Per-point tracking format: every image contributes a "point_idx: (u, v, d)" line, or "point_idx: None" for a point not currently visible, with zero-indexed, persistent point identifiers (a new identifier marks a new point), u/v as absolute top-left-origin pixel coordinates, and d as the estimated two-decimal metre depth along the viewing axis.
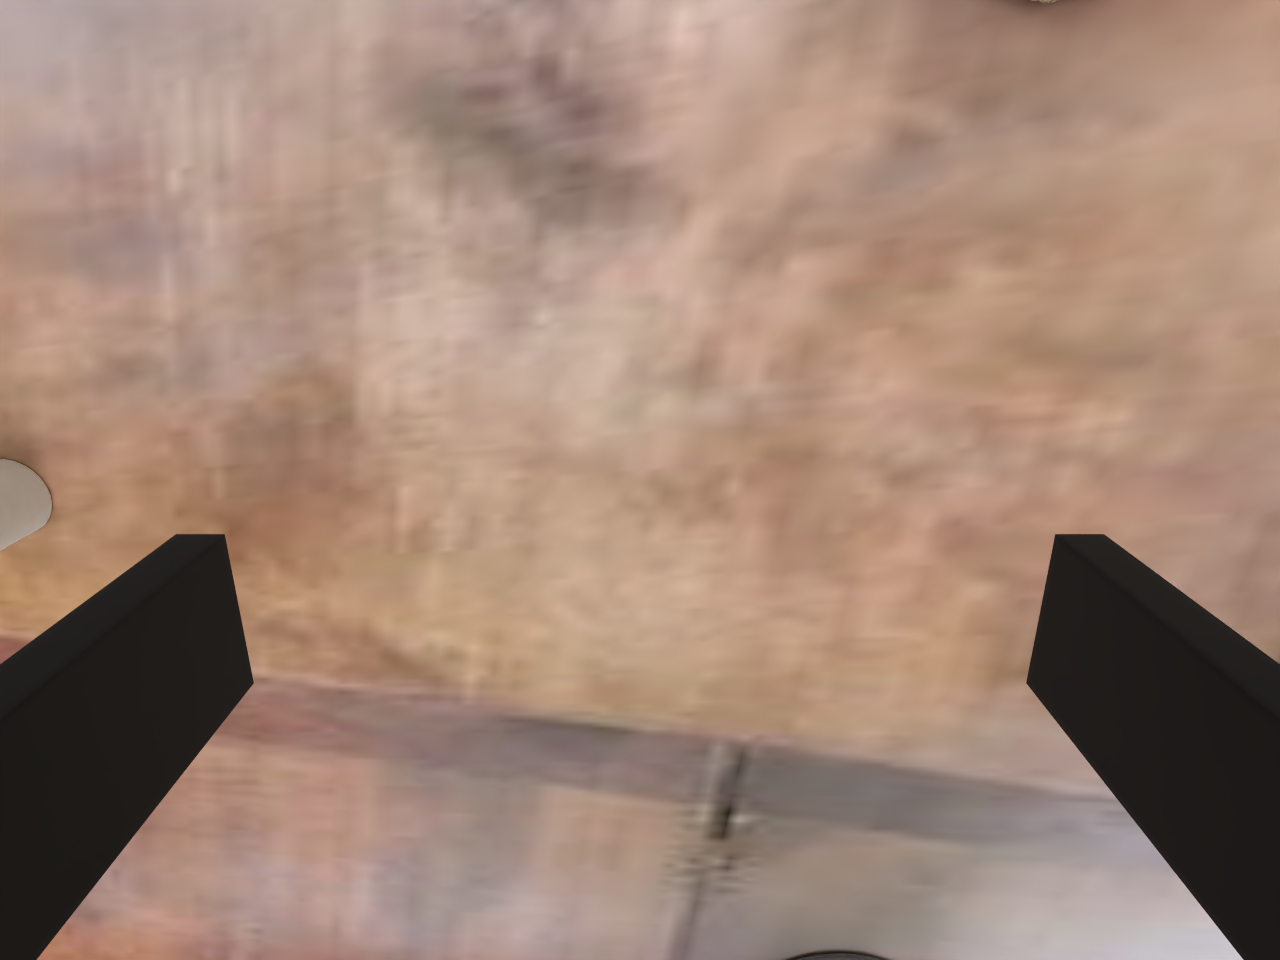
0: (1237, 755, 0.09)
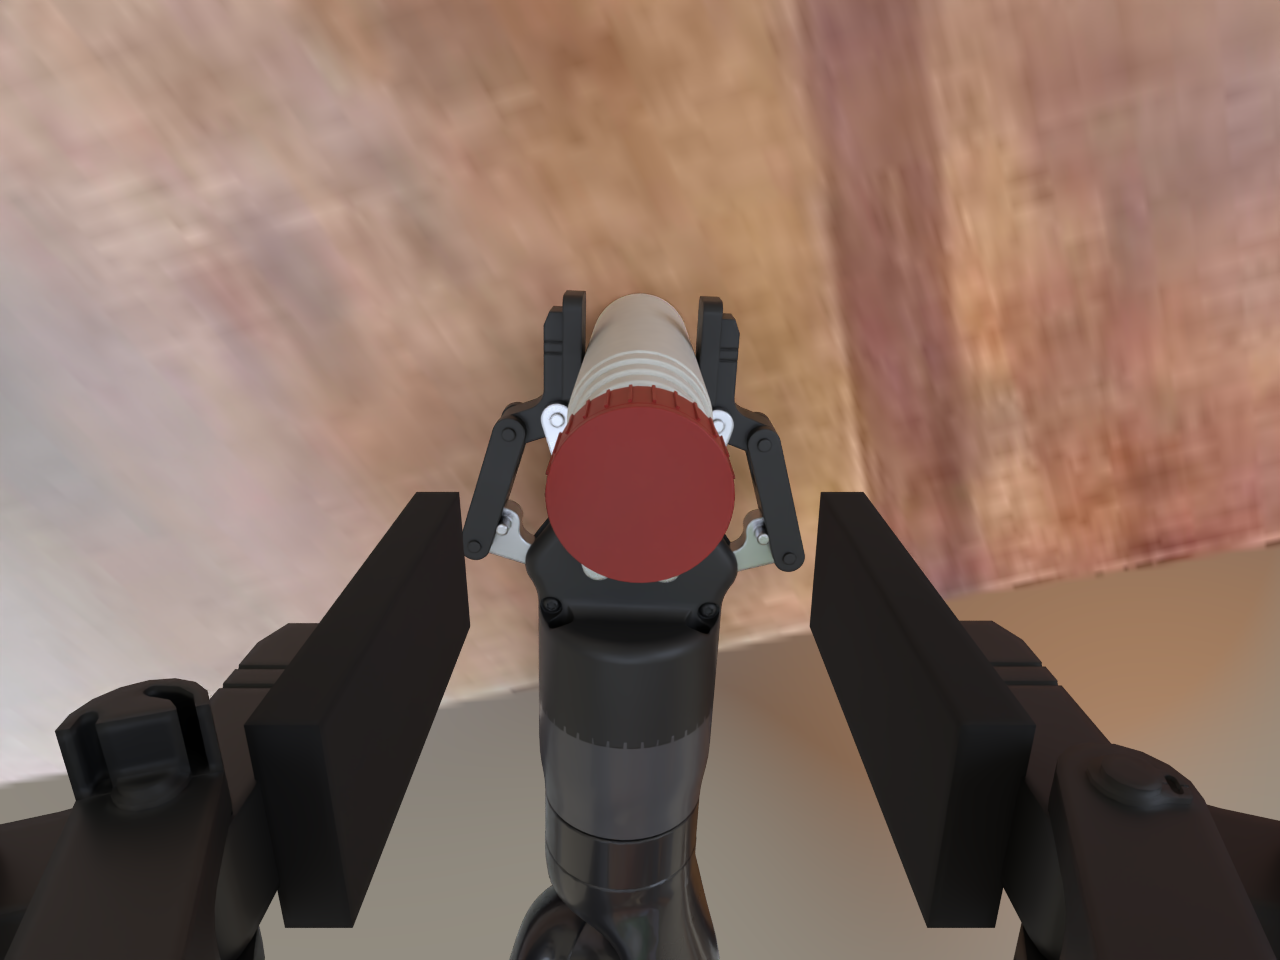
0: (886, 660, 0.10)
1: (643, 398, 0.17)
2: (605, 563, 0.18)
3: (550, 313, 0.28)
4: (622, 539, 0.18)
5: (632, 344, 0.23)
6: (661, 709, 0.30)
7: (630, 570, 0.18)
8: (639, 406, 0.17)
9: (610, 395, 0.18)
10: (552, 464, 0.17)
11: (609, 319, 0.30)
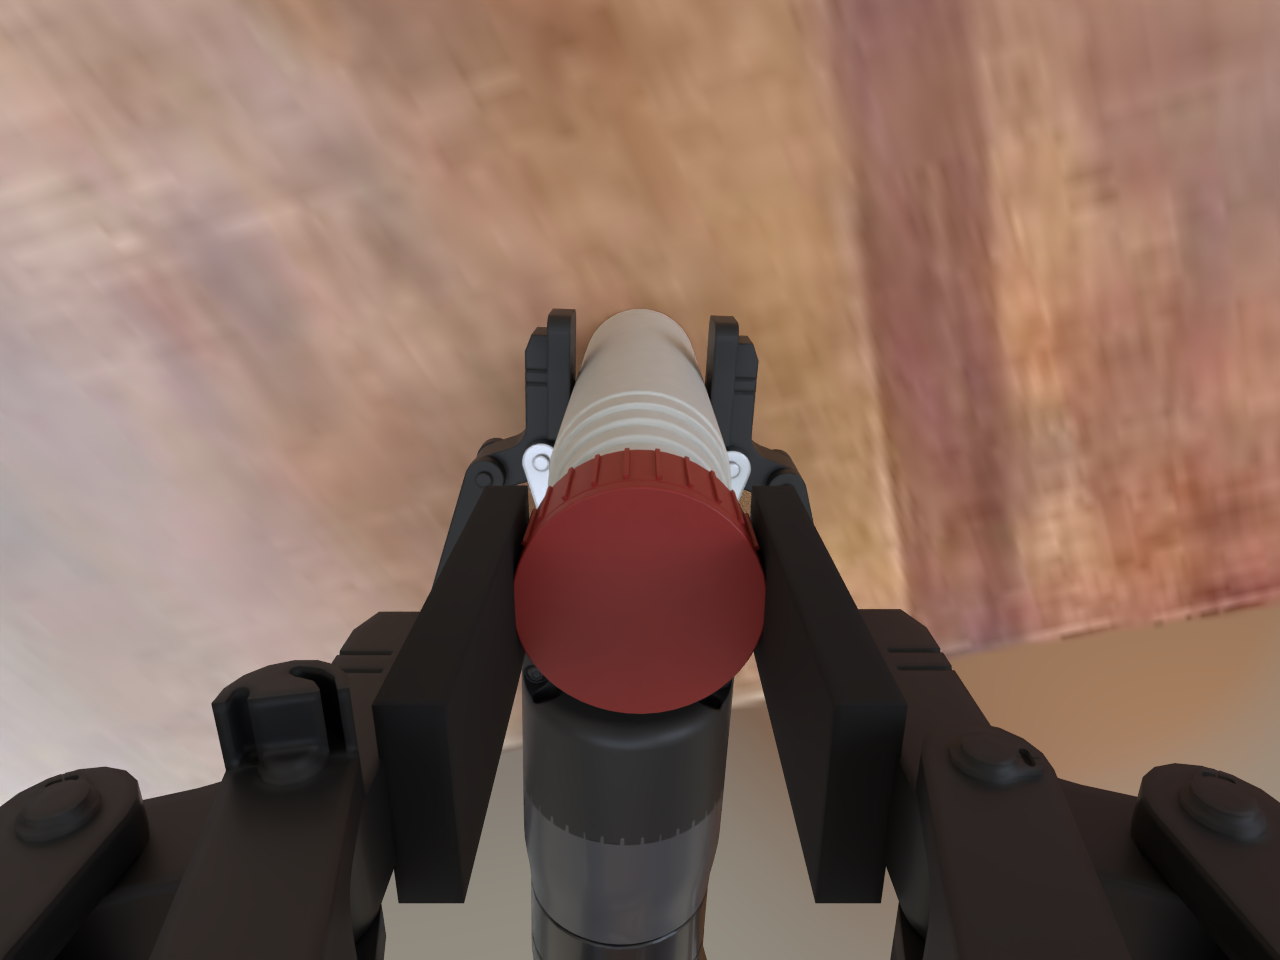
0: (791, 647, 0.11)
1: (644, 472, 0.13)
2: (593, 689, 0.13)
3: (533, 336, 0.24)
4: (615, 659, 0.13)
5: (630, 381, 0.19)
6: (664, 799, 0.26)
7: (626, 698, 0.13)
8: (638, 486, 0.12)
9: (599, 464, 0.13)
10: (520, 563, 0.13)
11: (603, 342, 0.25)
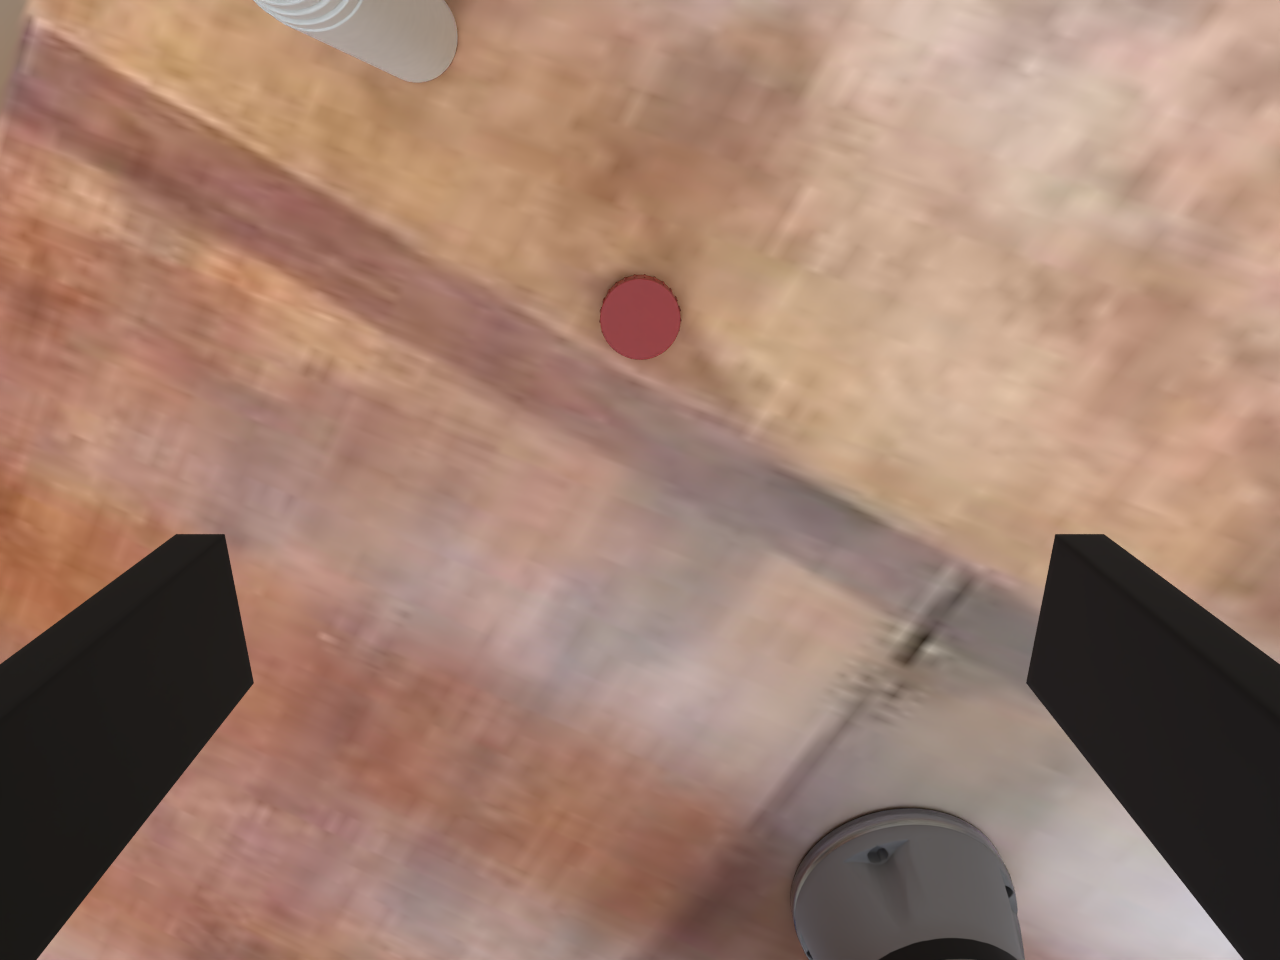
0: (1237, 756, 0.09)
1: (612, 288, 0.41)
2: (651, 351, 0.42)
3: None
4: (648, 338, 0.41)
5: (369, 10, 0.27)
6: None
7: (661, 346, 0.42)
8: (611, 291, 0.41)
9: (604, 298, 0.42)
10: (604, 335, 0.41)
11: (430, 21, 0.33)
